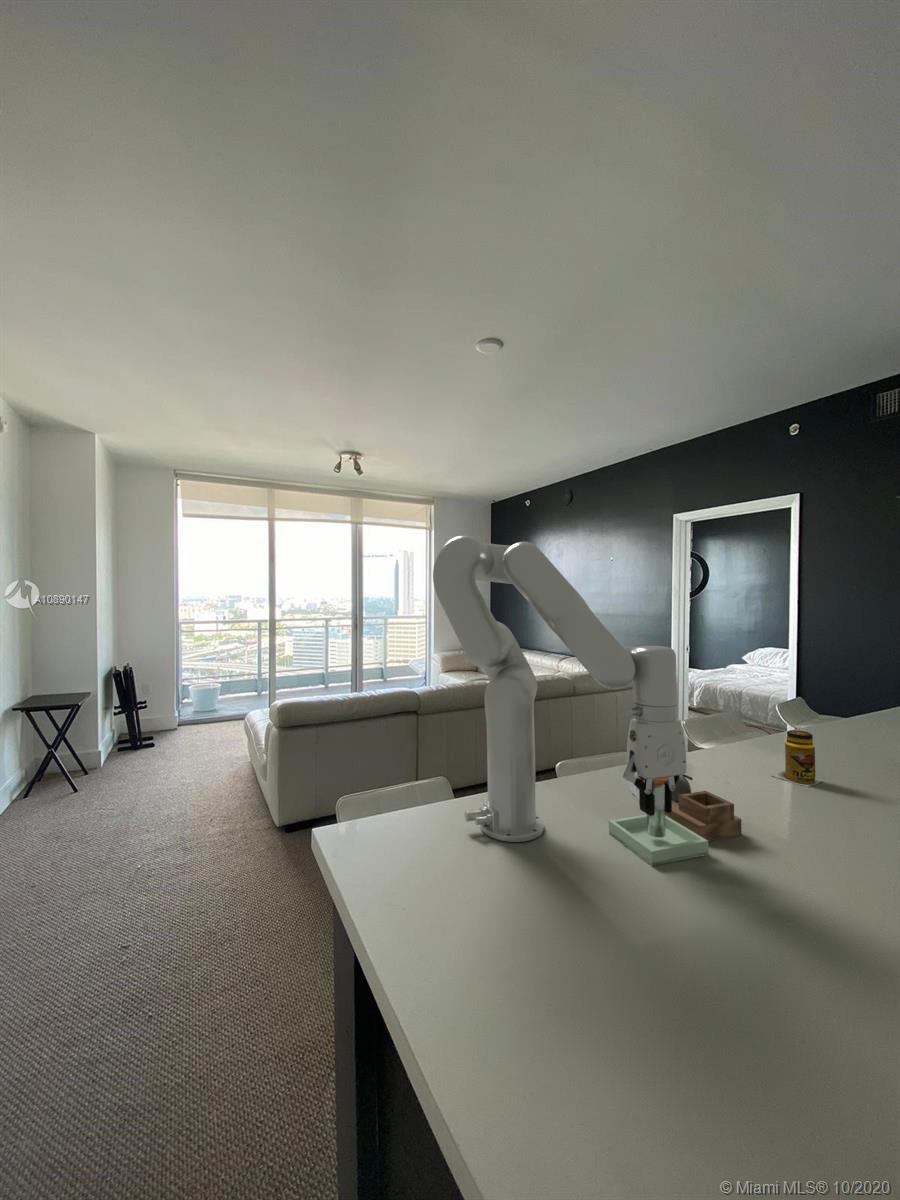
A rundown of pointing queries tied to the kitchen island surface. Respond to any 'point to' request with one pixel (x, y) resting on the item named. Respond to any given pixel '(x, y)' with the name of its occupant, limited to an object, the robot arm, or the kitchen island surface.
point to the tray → (658, 840)
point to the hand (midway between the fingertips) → (655, 810)
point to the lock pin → (657, 809)
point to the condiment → (799, 759)
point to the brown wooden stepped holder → (703, 812)
